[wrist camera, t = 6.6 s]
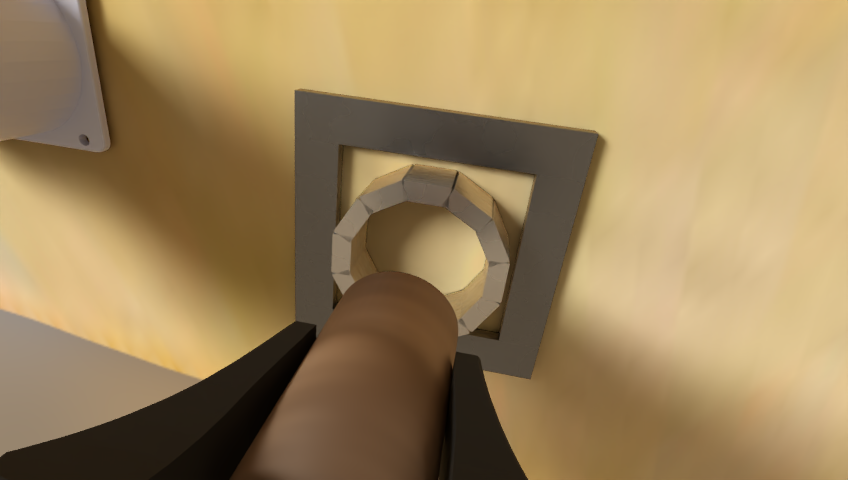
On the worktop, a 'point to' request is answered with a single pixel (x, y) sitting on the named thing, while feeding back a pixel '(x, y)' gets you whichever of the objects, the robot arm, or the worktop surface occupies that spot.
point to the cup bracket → (452, 141)
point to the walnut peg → (365, 390)
